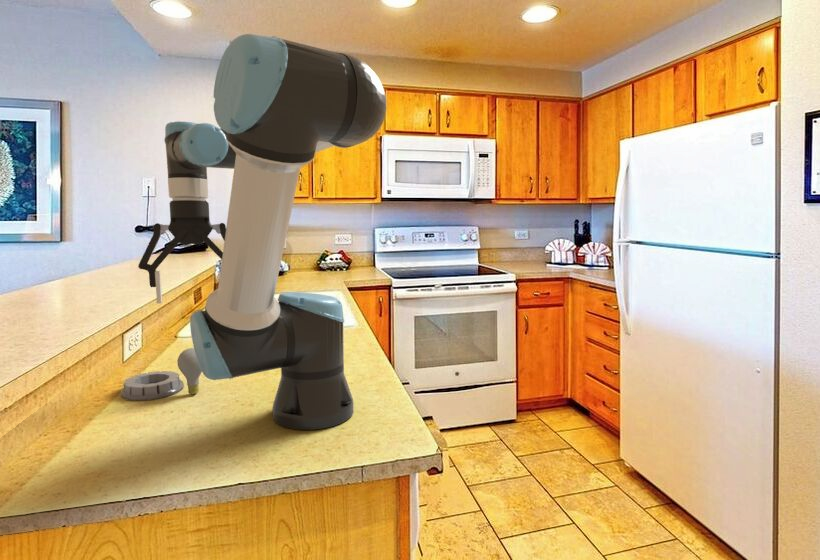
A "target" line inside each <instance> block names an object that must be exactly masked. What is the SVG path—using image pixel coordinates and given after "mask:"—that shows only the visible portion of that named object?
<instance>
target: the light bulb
mask: <svg viewBox="0 0 820 560" xmlns="http://www.w3.org/2000/svg"><path fill="white" fill-rule="evenodd" d="M177 367H178V369H179V371H180V372H181V373H182V375H183V376H184V377H185V379H186V385H187V389H188V390H187V393H188V394H190V395H192V396H194V395H196V394H199V392H200V389H199V387H200V386H199V384H200V380H199V379H200V376H201V374H202V373H203V372H202V371H201V369H200V366H199V363H198V361H197V357H196V354H195V350H194V347H190V348H186V349H184V350H183V351H181V353H179V355H178V357H177Z"/></svg>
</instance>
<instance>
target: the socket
mask: <svg viewBox="0 0 820 560" xmlns="http://www.w3.org/2000/svg"><path fill="white" fill-rule="evenodd" d="M183 389H184V381H183V380H181V379H180V374H179V373H178V372H175V371H171V370H170V371H169V370H161V371H157V370H156V371H149V372H143V373H140V374H136V375H134V376H131V377H128V378H127V379H126V378H125V380H124V381H123V388H122V389H121V390H120V397H121V398H122V399H123V400H126V401H131V402H132V401H133V402H143V401H144V402H147V401H153V400H160V399H164V398H168V397H171V396H173V395H176V394H178V393H179V392H181V391H182V390H183Z"/></svg>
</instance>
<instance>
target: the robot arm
mask: <svg viewBox="0 0 820 560" xmlns="http://www.w3.org/2000/svg"><path fill="white" fill-rule="evenodd" d="M213 86H214V87H213V98H214V103H213V112H214V113H213V114H214V118H215V121H216V124H217V125H218V126H216V125H214V124H211V123H208V122H203V123H196V122H191V121H180V120H179V121H178V120H177V121H174V122H173V121H170V122H168V123H166V125H165V129H164V134H165V136H164V144H165V152H166V165H167V166H166V168H167V185H168V197H169V198H170V199H172V200H170V202H169V215H170V220H169V224H161V223H158V222H157V223H154V225H153V231H152V233H153V234H152V236H151V238H150V240H149V242H148V245H147V246H146V249H145V251H144V252H143V254H142V256H141V259H140V260H139V263H138V269H139V270H144V271H147V273H148V279H149V286H150V288H155V294H156V304H158V305H159V304H162V302H163V297H162V296H163V295H162V294H163V293H162V292H163V291H162V280H161V278H162V277H161V270H157V269H158V267H159V266H160V265H161V264H162V263H163V262H164V260H165V259H166V258H167V257H168V256H169V255H170V253H172V251H173V250H174V249H175V247H176V246H177V245H178V244H181V245H183V246H186V245H202V244H203V243H204V244H206V246H208V247H209V249H211V251H213V253H214V254H216V255H217V256H218V258H219V259H221V262H220V263H221V264H220V265H221V266H220V272H219V279H218V287H217V289H215V290H213V291H212V292H211V293H210V294H209V295H208V296H207V297H206V302H205V307H204V310H201V309H199V310H197V311H194V312H193V313H192V314H191V315H190V316H189V317H190V318H189V324H190V325H189V326H190V334H191V340H192V346H193V348H194V350H195V354H196V357H197V361H198V363H199V366H200V369H201V371H202V372H201V373H202V374H203V375H204V377H206V378H207V379H208V380H212V381H218V380H226V379H229V380H231V379H234V378H239V377H242V376H243V377H244V376H248V375H253V374H257V373H258V374H259V373H262V372H263V373H264V372H267V371H272V370H276V369H280V373H281V377H280V380H279V384H278V387H277V391H276V393H275V397H274V400H273V404H272V419H273V421H274V422H275V423H276V424H277V425H279V426H281V427H283V428H288V429H290V430H302V431H304V430H305V431H310V430H311V431H312V430H313V431H314V430H322V429H326V428H332V427H334V426H337V425H338V426H339V425H340V424H342V423H344V422H346V421H348V420H349V419H350V418H352V416H353V415H354V398H353V395H352V393H351V389H350V387H349V384H348V382H347V381H348V380H347V378H346V376H345V371H344V370H345V368H344V367H345V365H344V364H345V363H344V362H345V361H344V353H345V352H344V349H345V347H344V323H345V319H344V311H343V309H344V308H343V304H342V301H341V300H340V299H338V298H337V297H335V296H332V295H325V294H320V293H311V292H310V293H309V292H299V291H298V292H297V291H288V292H281V293H280V294H279V295H278V297H277V299H276V298H275V292H276V288H277V283H278V279H279V273H280V268H281V263H282V258H283V253H284V249H285V244H286V239H287V235H288V229H289V225H290V219H291V216H292V210H293V205H294V200H295V195H296V190H297V186H298V180H299V176H300V171H301V168H302V167H305V166H306V165H309V164H310V163H312V162H313V160H314V158H315V154H317V153H319V152H321V151H324V150H326V149H329V148H332V147H335V148H341V149H346V148H347V149H348V148H351V147H354V146H357V145H360V144H363V143H365V142H367V141H369V140H371V138H373V137H374V136H375V135H376V134H377V133H378V132H379V130H380V129H381V127H382V126H383V124H384V122H385V121H384V120H385V119H386V113H387V97H386V92H385V89H384V86H383V84H382V81H381V80H380V78H379V76H378V75H377V74H376V72H375V70H373V69H372V68H371V67H370V66H369V65H368V64H367V63H366V62H364V61H362V60H361V59H359V58H357V57H356V56H353V55H351V54H347V53H343V52H337V51H332V50H328V49H325V48H321V47H315V46H313V45H312V46H311V45H309V44H303V43H300V42H296V41H291V40H287V39H284V38H280V37H277V36H266V35H260V34H253V33H245V34H241V35H238V36H237V37H235V38H234V39H233V40H231V42H230V44H228V46H227V47H226V49H225V50H224V52H223V54H222V56H221V59H220V62H219V64H218V68H217V71H216V76H215V80H214V85H213ZM208 168H210V169H211V168H213V169H228V170H229V169H231V170H232V169H233V176H232V182H231V190H230V198H229V205H228V213H227V220H226V224H225V223H224V222H220V223H217V224H216V223H215V224H212V223H211V221H210V205H209V204H210V203H209V202H208V201H207V200H206V199H208V198H209V186H208V184H209V183H208V170H207V169H208ZM166 231H169V232H170V234H171V235H172V236H173V238H172V240H171V241H170V242H169V243H168V245H166V247H165V248H164V249H163V250H162V251H161V252H160V254H159V255H158V256H157V257H156V258H155V260H154V261H153V262H152V263H151V264H149V261H150V259H151V257H152V255H153V253H154V250H155V248H156V246H157V245H158V242H159V240H160V238H161V235H165V233H166ZM212 231H216V234H218V235H221V237H222V240H223V241H224V243H223V248H222V249H223V250H222V249H220V247H218V246H217V245H216V244H215V243H214V242H213V241H212V239H211V238H210V237H209V235H210V234H211V232H212Z"/></svg>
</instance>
